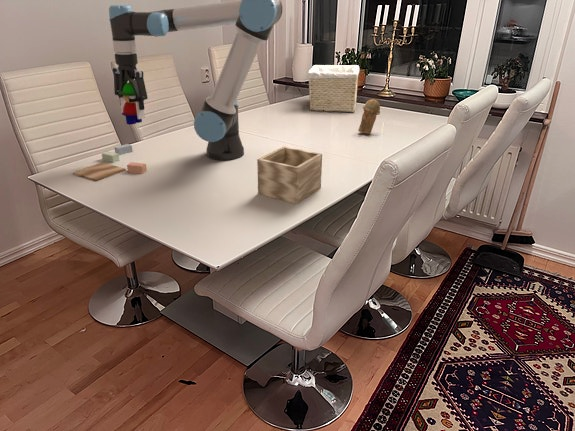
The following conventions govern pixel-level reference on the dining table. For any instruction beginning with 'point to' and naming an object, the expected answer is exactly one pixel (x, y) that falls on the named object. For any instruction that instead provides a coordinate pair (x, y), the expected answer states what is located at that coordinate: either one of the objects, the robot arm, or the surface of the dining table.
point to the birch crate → (289, 174)
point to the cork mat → (99, 171)
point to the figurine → (369, 115)
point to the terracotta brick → (136, 167)
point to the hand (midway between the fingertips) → (133, 116)
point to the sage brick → (110, 156)
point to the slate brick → (123, 149)
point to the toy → (130, 105)
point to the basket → (333, 87)
